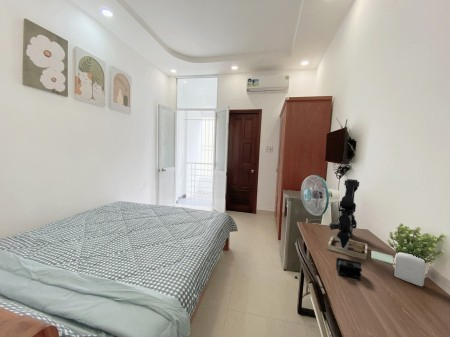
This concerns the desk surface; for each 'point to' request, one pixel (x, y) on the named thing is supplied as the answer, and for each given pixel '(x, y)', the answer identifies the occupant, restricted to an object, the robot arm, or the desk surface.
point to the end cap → (348, 268)
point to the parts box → (345, 245)
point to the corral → (347, 252)
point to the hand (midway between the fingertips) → (343, 244)
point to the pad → (382, 257)
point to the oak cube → (357, 246)
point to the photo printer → (410, 268)
